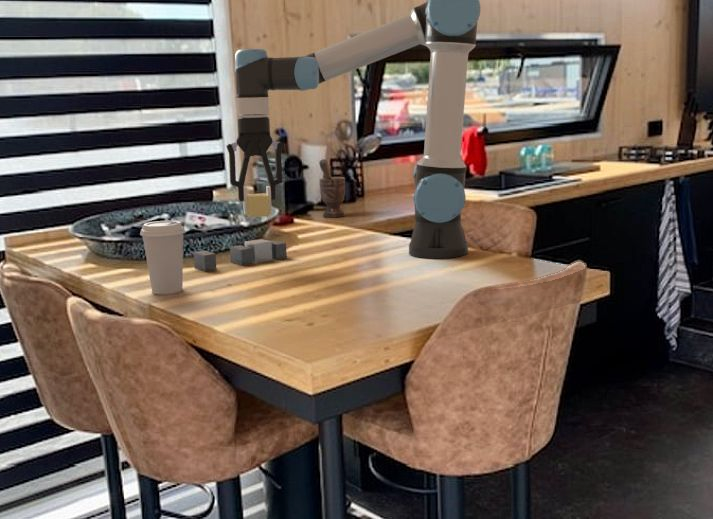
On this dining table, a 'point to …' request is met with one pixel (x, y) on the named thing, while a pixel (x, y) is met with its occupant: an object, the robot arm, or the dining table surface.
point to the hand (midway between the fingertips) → (257, 213)
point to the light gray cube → (260, 250)
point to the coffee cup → (164, 255)
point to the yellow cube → (258, 205)
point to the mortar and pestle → (331, 191)
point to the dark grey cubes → (236, 256)
